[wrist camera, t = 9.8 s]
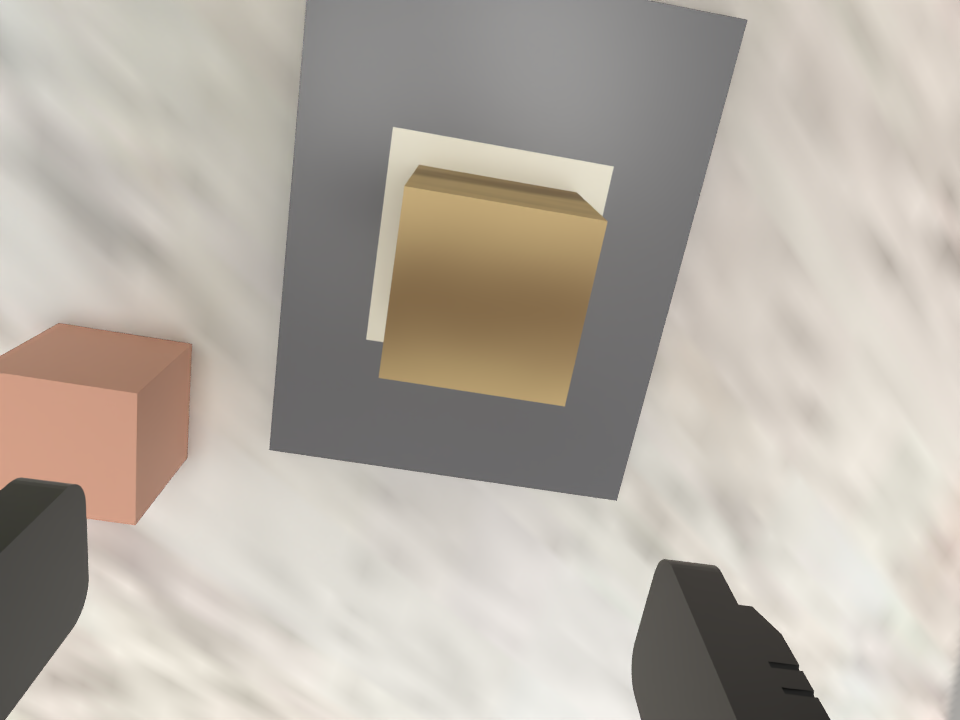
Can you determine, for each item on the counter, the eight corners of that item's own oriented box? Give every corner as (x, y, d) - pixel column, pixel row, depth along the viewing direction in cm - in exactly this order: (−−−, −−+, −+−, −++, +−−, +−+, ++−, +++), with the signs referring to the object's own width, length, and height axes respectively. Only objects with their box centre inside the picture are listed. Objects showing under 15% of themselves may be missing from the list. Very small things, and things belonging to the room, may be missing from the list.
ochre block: (418, 164, 25) (404, 185, 19) (576, 192, 25) (607, 221, 20) (397, 317, 27) (378, 377, 21) (544, 341, 27) (564, 406, 21)
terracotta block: (59, 322, 28) (-24, 369, 23) (192, 343, 28) (137, 393, 24) (62, 439, 30) (-15, 504, 25) (187, 457, 30) (135, 524, 25)
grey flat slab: (318, -60, 23) (311, -67, 22) (736, 22, 24) (748, 19, 23) (275, 438, 30) (268, 451, 28) (611, 488, 31) (617, 501, 29)
